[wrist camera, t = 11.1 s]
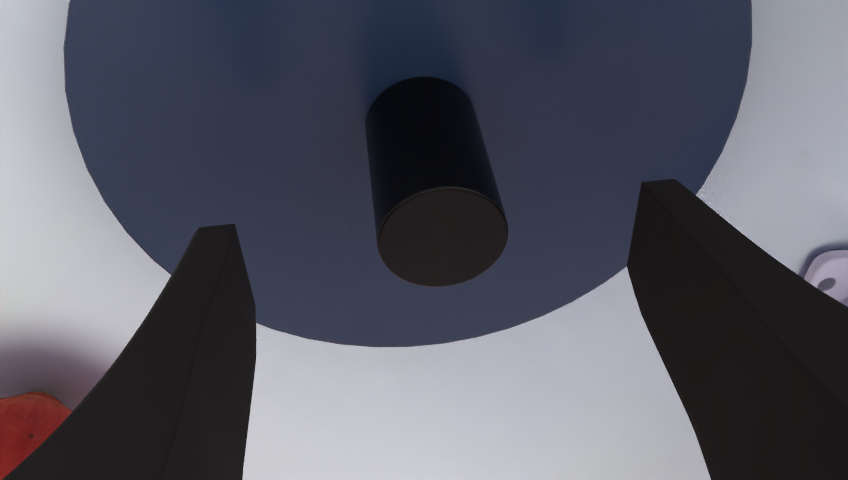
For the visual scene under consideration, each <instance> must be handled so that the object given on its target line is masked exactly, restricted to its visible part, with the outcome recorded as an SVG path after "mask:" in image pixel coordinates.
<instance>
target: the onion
mask: <svg viewBox="0 0 848 480" xmlns="http://www.w3.org/2000/svg"><path fill="white" fill-rule="evenodd" d="M72 412H73V411H72V410H70V409H69V408H67V407H65V406H64V405H63V404H62V402H60V401H59V400H58V399H57V398H55V397H53V396H52V395H50V394H47V393H44V392H36V391H35V392H28V393H25V394H21V395H17V396H12V397H7V398H2V399H0V480H2V479H3V478H4V477H5V476H7V475H8V474H9V473H10V472H11V471H12V470H13V469H15V468H16V467H17V466H18V465H19V464H20V463H21V462H22V461H23V460H24V459H26V458H27V457H28V456H29V455H30V454H31V453H32V452H33V451H34V450H35V449H37V448H38V447H39V446H40V445H41V444H42V443H43V442H44V441H45V440H46V439H47V438H48V437H49V436H50V435H51V434H52V433H53V432H54V431H55V430H56V429H57V428H58V427H59V426H60V424H61V423H62V422H63V421H64V420H65V419H66V418H67V417H68V416H69V415H70V414H71V413H72Z"/></svg>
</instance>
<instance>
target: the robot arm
mask: <svg viewBox="0 0 848 480" xmlns="http://www.w3.org/2000/svg"><path fill="white" fill-rule="evenodd" d="M627 268H628V272H629V275H630V279H631V282H632V286H633V289H634V293H635V296H636V299H637V302H638V305H639V308H640V311H641V314H642V317H643V319H644V321H645V323H646V326H647V328H648V330H649V332H650V334H651V337H652V339H653V341H654V343H655V345H656V348H657V350H658V352H659V354H660V356H661V358H662V361H663V363H664V365H665V367H666V369H667V371H668V373H669V375H670V378H671V380H672V382H673V384H674V386H675V388H676V390H677V393H678V395H679V397H680V399H681V401H682V403H683V406H684V408H685V410H686V412H687V414H688V417H689V419H690V421H691V424H692V426H693V429H694V431H695V434H696V436H697V439H698V442H699V445H700V448H701V451H702V454H703V457H704V460H705V463H706V466H707V469H708V472H709V474H710V477H711V480H848V250H832V251H827V252H824V253H822V254H820V255H819V256H817V257H816V258H815V259H814V260H813V262H812V263H811V265H810V267H809V269H808V271H807V273H806V275H805V277H804V279H803V278H801V277H800V276H798V275H797V274H796V273H794V272H793V271H791V270H790V269H788V268H787V267H786V266H784V265H783V264H781V263H780V262H778V261H777V260H776V259H774V258H773V257H772V256H770V255H769V254H768V253H766V252H765V251H764V250H762V249H761V248H760V247H758V246H757V245H756V244H755V243H753V242H752V241H751V240H749V239H748V238H747V237H746V236H744V235H743V234H742V233H741V232H739V231H738V230H737V229H736V228H734V227H733V226H732V225H731V224H729V223H728V222H727V221H726V220H725V219H723V218H722V217H721V216H720V215H719V214H717V213H716V212H715V211H714V210H712V209H711V208H710V207H709V206H708V205H707V204H705V203H704V202H703V201H702V200H701V199H699V198H698V197H697V196H696V195H695V194H693V193H692V192H691V191H690V190H689V189H687V188H686V187H685V186H684V185H682V184H681V183H680V182H679V181H677V180H676V179H666V180H656V181H647V182H641V188H640V193H639V199H638V205H637V210H636V216H635V222H634V227H633V233H632V239H631V244H630V250H629V256H628V261H627ZM255 363H256V305H255V301H254V297H253V293H252V289H251V285H250V282H249V278H248V274H247V270H246V266H245V262H244V258H243V254H242V250H241V246H240V242H239V238H238V234H237V230H236V226H235V224H226V225H216V226H206V227H199V228H198V229H197V230H196V232H195V233H194V234H193V236H192V238H191V240H190V242H189V244H188V246H187V248H186V250H185V252H184V254H183V256H182V258H181V259H180V261H179V263H178V265H177V267H176V268H175V270H174V272H173V274H172V275H171V277H170V279H169V281H168V282H167V284H166V286H165V288H164V289H163V291H162V292H161V294H160V296H159V297H158V299H157V300H156V302H155V304H154V305H153V307H152V309H151V310H150V312H149V313H148V315H147V316H146V318H145V320H144V321H143V323H142V324H141V325H140V327H139V328H138V330H137V331H136V333H135V334H134V335H133V337H132V338H131V340H130V341H129V342H128V344H127V345H126V347H125V348H124V350H123V351H122V352H121V354H120V355H119V357H118V358H117V359H116V361H115V362H114V363H113V364H112V366H111V367H110V368H109V370H108V371H107V372H106V373H105V375H104V376H103V377H102V378H101V380H100V381H99V382H98V383H97V384H96V386H95V387H94V388H93V389H92V390H91V391H90V393H89V394H88V395H87V396H86V397H85V398H84V400H83V401H82V402H81V403H80V404H79V405H78V406H77V407H76V408H75V409H74V411H73V412H72V413H71V414H70V415H69V416H68V417H67V418H66V419H65V420H64V421H63V422H62V423H61V424H60V426H59V427H58V428H57V429H56V430H55V431H54V432H53V433H52V434H51V435H50V436H49V437H48V438H47V439H46V440H45V441H44V442H43V443H42V444H41V445H40V446H39V447H38V448H37V449H35V450H34V451H33V452H32V453H31V454H30V455H29V456H28V457H27V458H26V459H24V460H23V461H22V462H21V463H20V464H19V465H18V466H17V467H16V468H15V469H13V470H12V471H11V472H10V473H9V474H8V475H7V476H5V477H4V478H3V479H2V480H242V476H243V465H244V456H245V448H246V440H247V431H248V423H249V415H250V406H251V398H252V389H253V381H254V372H255Z"/></svg>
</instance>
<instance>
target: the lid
mask: <svg viewBox="0 0 848 480" xmlns="http://www.w3.org/2000/svg"><path fill="white" fill-rule="evenodd" d="M751 46H752V2H751V0H70V2H69V9H68V17H67V25H66V33H65V41H64V71H65V92H66V97H67V102H68V107H69V112H70V117H71V122H72V127H73V132H74V134H75V137H76V140H77V143H78V145H79V148H80V151H81V154H82V156H83V159H84V162H85V165H86V168H87V170H88V172H89V173H90V175H91V177H92V179H93V181H94V183H95V185H96V187H97V188H98V190H99V192H100V194H101V196H102V198H103V200H104V201H105V203H106V204H107V206H108V207H109V209H110V210H111V211H112V213H113V214H114V215H115V217H116V218H117V220H118V221H119V222H120V224H121V225H122V226H123V228H124V229H125V231H126V232H127V233H128V234H129V235H130V236H131V237H132V238H133V239H134V241H135V242H136V243H137V244H138V245H139V246H140V247H141V248H142V249H143V250H144V251H145V252H146V253H147V254H148V255H149V256H150V257H151V258H152V259H153V260H154V261H155V262H156V263H157V264H159V265H160V266H161V267H162V268H164V269H165V270H166V271H167V272H168V273H170V274H171V275H172V274H173V272H174V270H175V268H176V267H177V265H178V263H179V261H180V259H181V258H182V256H183V254H184V252H185V250H186V248H187V246H188V244H189V242H190V240H191V238H192V236H193V234H194V233H195V232H196V230H197V229H198V228H199V227H206V226H216V225H226V224H235V226H236V230H237V234H238V238H239V242H240V246H241V250H242V254H243V258H244V262H245V266H246V270H247V274H248V278H249V282H250V285H251V289H252V293H253V297H254V301H255V305H256V323H258V324H261V325H263V326H266V327H268V328H271V329H274V330H277V331H281V332H285V333H288V334H292V335H296V336H299V337H303V338H307V339H313V340H319V341H324V342H330V343H336V344H343V345H355V346H368V347H411V346H422V345H432V344H443V343H448V342H454V341H459V340H464V339H470V338H475V337H479V336H483V335H487V334H490V333H494V332H497V331H501V330H505V329H508V328H511V327H514V326H517V325H519V324H522V323H525V322H527V321H530V320H533V319H536V318H538V317H541V316H543V315H545V314H547V313H550V312H552V311H554V310H556V309H558V308H560V307H562V306H564V305H566V304H568V303H571V302H573V301H574V300H576V299H578V298H579V297H581V296H583V295H585V294H586V293H588V292H590V291H591V290H593V289H595V288H596V287H598V286H600V285H601V284H603V283H604V282H606V281H607V280H609V279H610V278H611V277H613V276H614V275H615V274H617V273H618V272H620V271H621V270H622V269H624V268H625V267H626V266H627V261H628V256H629V250H630V244H631V239H632V233H633V227H634V222H635V216H636V210H637V205H638V199H639V193H640V188H641V182H647V181H656V180H666V179H676V180H677V181H679V182H680V183H681V184H682V185H684V186H685V187H686V188H687V189H689V190H690V191H691V192H692V193H693V194H695V195H696V194H697V192H698V191H699V190H700V188H701V187H702V185H703V184H704V182H705V181H706V179H707V177H708V175H709V174H710V172H711V170H712V169H713V167H714V165H715V163H716V162H717V160H718V158H719V156H720V155H721V153H722V151H723V148H724V146H725V144H726V141H727V139H728V137H729V134H730V132H731V130H732V127H733V125H734V123H735V120H736V118H737V114H738V111H739V107H740V103H741V100H742V96H743V93H744V89H745V86H746V82H747V75H748V68H749V61H750V53H751Z"/></svg>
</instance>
